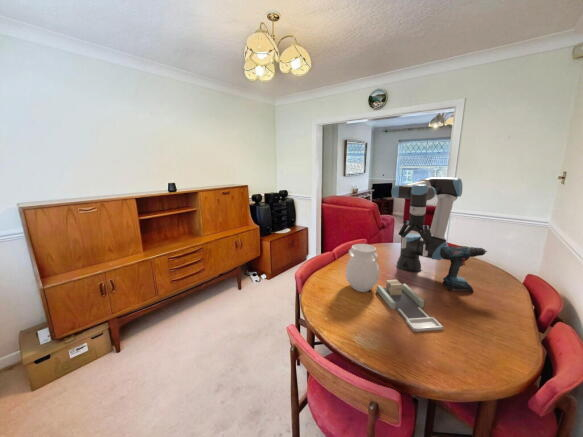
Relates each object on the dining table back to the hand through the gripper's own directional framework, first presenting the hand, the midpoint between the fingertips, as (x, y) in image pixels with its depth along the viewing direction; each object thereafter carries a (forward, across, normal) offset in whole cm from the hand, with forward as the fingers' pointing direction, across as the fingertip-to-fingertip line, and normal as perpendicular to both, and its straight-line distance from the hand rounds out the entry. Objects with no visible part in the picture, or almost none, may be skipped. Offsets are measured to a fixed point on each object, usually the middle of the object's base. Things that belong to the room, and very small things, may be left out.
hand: (413, 251), depth 136 cm
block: (+23, -2, -11) cm, 25 cm away
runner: (+23, +7, -14) cm, 28 cm away
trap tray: (+23, +25, -20) cm, 39 cm away
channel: (+23, +4, -13) cm, 27 cm away
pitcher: (+23, -15, -23) cm, 36 cm away
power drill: (+23, +10, +26) cm, 37 cm away
